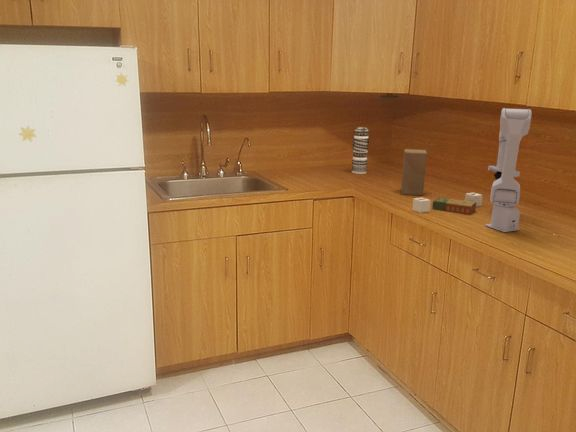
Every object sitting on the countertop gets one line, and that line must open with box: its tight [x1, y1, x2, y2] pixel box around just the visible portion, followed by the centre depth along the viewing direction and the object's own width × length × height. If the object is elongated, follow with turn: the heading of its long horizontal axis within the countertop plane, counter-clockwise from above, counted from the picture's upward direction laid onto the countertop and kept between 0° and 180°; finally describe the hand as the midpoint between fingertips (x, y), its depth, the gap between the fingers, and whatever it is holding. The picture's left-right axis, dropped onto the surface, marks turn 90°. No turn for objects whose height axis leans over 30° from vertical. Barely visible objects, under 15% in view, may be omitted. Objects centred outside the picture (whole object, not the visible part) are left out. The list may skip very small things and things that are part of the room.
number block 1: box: [412, 197, 432, 214], centre depth 223 cm, size 5×5×5 cm
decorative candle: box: [351, 126, 370, 175], centre depth 299 cm, size 9×9×25 cm
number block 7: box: [464, 192, 484, 208], centre depth 235 cm, size 5×5×5 cm
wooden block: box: [400, 148, 428, 196], centre depth 253 cm, size 10×10×20 cm
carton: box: [431, 197, 477, 216], centre depth 226 cm, size 8×16×4 cm, turn 58°
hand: (500, 190), depth 221 cm, fingers closed
